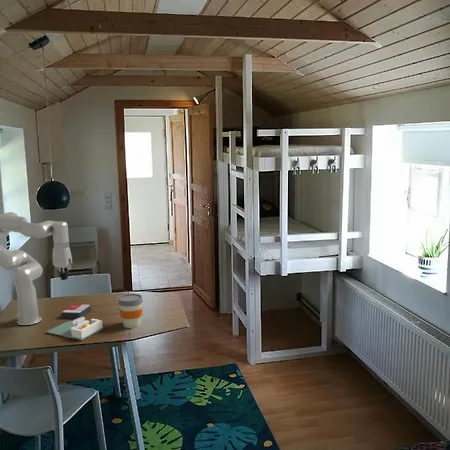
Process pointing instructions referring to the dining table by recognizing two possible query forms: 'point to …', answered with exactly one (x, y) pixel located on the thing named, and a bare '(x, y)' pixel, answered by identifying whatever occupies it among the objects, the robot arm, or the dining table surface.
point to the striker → (79, 323)
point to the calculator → (76, 311)
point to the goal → (87, 329)
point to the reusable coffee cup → (130, 309)
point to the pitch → (67, 330)
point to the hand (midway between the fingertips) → (64, 279)
